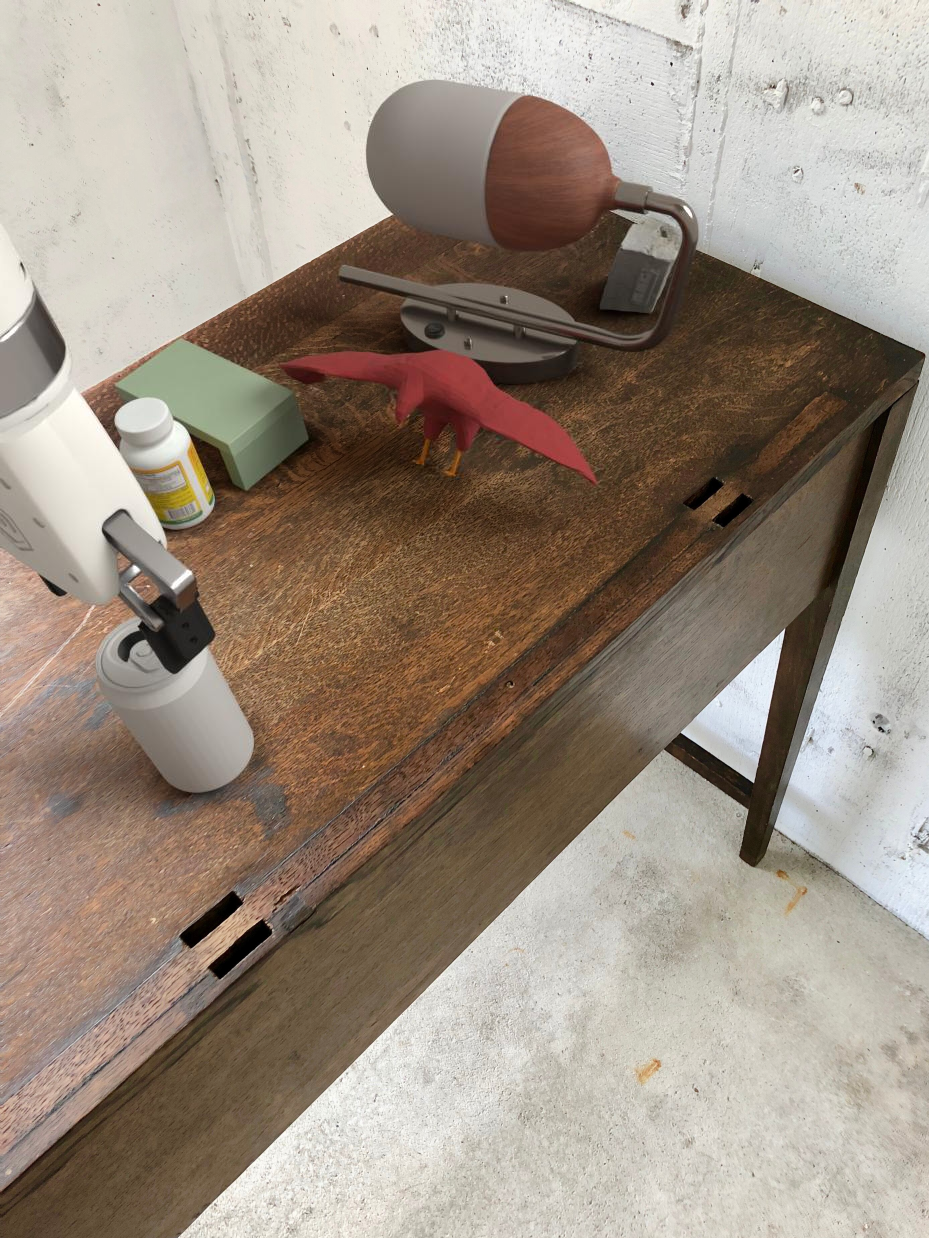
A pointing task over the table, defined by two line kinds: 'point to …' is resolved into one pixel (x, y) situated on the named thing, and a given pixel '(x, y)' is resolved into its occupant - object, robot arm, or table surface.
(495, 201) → the light fixture
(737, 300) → the table surface
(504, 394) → the decorative bird sculpture
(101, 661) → the beverage can
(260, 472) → the shelf
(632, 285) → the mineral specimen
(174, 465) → the supplement bottle
